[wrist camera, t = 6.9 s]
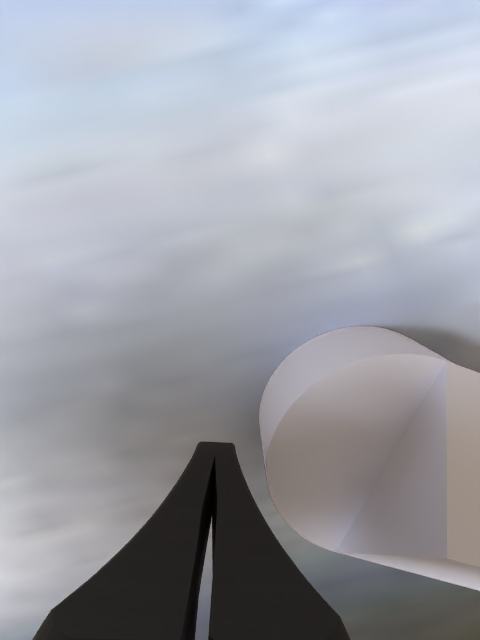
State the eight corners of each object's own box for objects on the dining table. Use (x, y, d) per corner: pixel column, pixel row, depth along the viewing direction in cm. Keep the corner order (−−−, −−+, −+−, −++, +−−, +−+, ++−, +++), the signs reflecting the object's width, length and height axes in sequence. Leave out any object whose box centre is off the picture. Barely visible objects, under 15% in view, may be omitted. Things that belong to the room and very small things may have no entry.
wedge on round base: (552, 388, 14) (302, 297, 13) (817, 513, 8) (372, 358, 6) (455, 527, 16) (233, 463, 15) (598, 716, 10) (232, 633, 9)
